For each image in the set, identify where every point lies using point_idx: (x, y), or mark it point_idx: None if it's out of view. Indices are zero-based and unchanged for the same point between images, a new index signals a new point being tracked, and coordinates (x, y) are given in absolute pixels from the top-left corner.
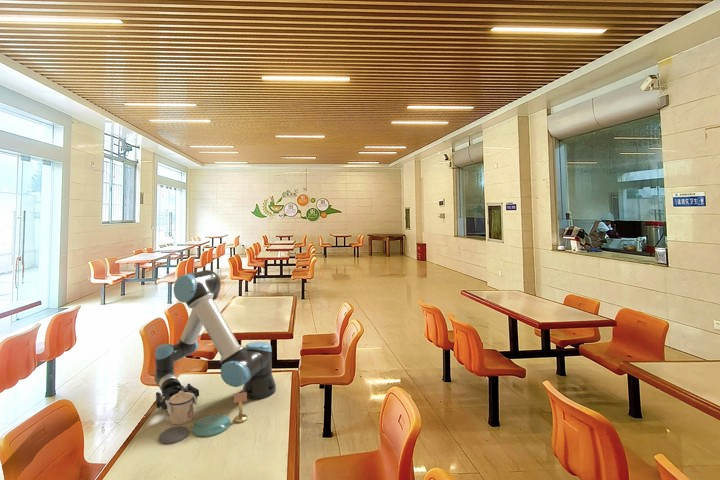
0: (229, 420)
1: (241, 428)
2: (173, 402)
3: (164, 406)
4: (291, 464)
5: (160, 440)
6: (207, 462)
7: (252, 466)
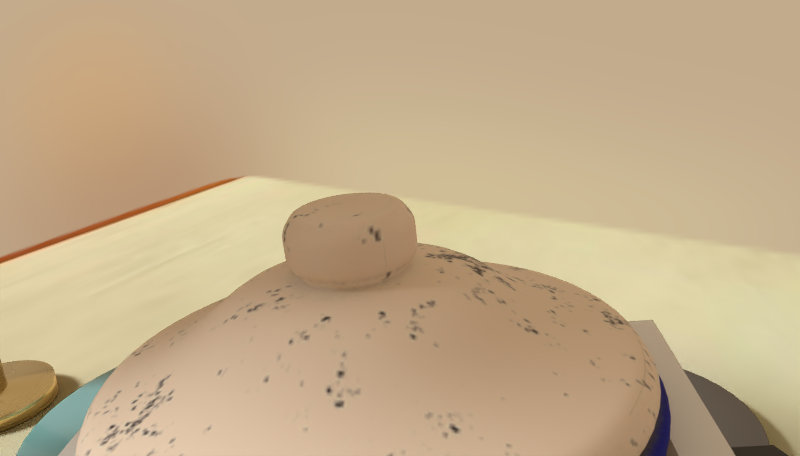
0: (78, 394)
1: (109, 337)
2: (562, 281)
3: (770, 450)
4: (204, 186)
5: (737, 399)
6: (443, 234)
7: (305, 198)
